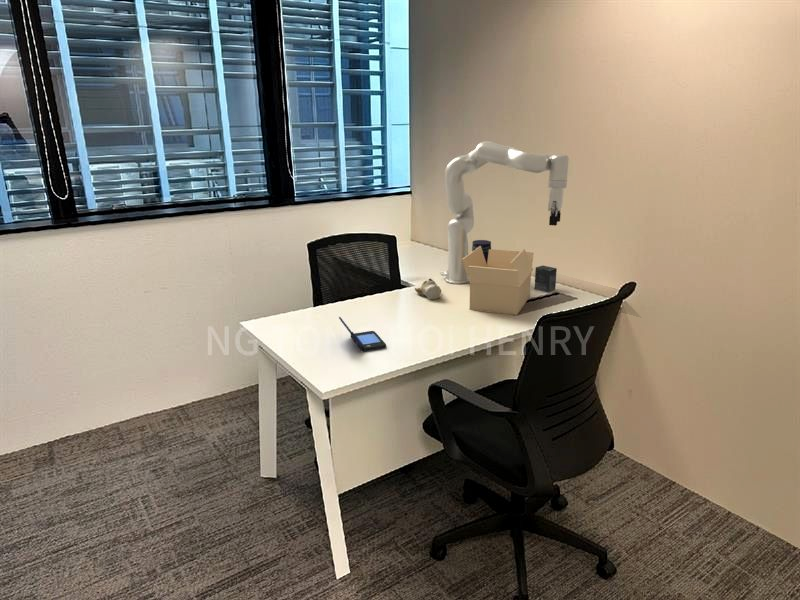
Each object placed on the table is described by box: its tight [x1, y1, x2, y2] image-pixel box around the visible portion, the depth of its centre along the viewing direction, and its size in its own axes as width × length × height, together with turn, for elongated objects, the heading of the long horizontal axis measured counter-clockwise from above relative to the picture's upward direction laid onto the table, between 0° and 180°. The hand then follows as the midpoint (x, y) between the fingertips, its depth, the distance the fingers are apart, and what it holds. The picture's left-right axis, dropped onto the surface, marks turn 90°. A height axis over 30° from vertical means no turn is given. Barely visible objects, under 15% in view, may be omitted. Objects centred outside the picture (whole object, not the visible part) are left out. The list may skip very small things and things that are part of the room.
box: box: [534, 265, 558, 293], centre depth 244 cm, size 8×6×11 cm
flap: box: [510, 248, 534, 286], centre depth 221 cm, size 10×25×1 cm
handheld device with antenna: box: [338, 316, 387, 353], centre depth 189 cm, size 16×13×9 cm
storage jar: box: [471, 239, 492, 264], centre depth 279 cm, size 10×10×15 cm
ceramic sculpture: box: [414, 278, 442, 301], centre depth 239 cm, size 11×9×15 cm
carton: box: [462, 246, 535, 316], centre depth 227 cm, size 24×32×22 cm
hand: (554, 223), depth 235 cm, fingers open, 9 cm apart
